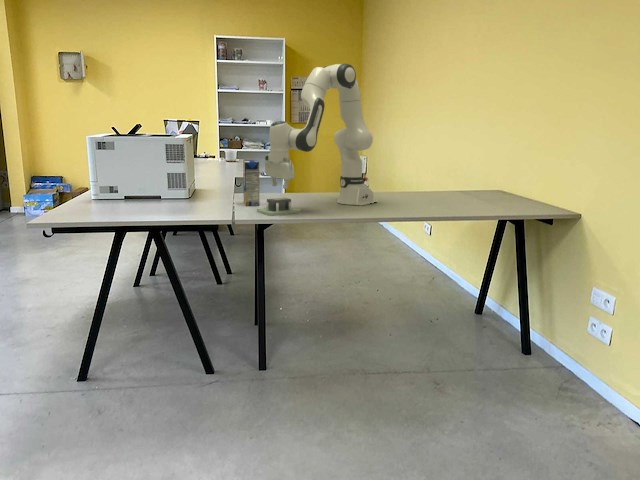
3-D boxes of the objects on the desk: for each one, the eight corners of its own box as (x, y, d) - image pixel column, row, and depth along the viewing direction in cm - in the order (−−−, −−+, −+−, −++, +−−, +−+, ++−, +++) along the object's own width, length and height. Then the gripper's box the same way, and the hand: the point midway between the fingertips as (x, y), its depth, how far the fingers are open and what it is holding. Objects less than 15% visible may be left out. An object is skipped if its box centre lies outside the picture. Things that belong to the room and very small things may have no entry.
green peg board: (287, 208, 238) (287, 198, 237) (300, 212, 229) (300, 201, 228) (256, 211, 228) (256, 200, 227) (269, 216, 219) (269, 204, 218)
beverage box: (245, 206, 241) (245, 162, 236) (243, 202, 252) (243, 160, 246) (259, 206, 243) (259, 162, 238) (256, 202, 253) (256, 160, 248)
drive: (284, 207, 233) (284, 197, 232) (291, 209, 229) (291, 198, 228) (266, 209, 228) (266, 198, 226) (273, 211, 223) (273, 200, 222)
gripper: (297, 158, 216) (298, 189, 220) (273, 155, 232) (274, 184, 236) (285, 159, 212) (286, 190, 216) (262, 156, 228) (263, 185, 232)
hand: (280, 187), depth 226 cm, fingers open, 8 cm apart
